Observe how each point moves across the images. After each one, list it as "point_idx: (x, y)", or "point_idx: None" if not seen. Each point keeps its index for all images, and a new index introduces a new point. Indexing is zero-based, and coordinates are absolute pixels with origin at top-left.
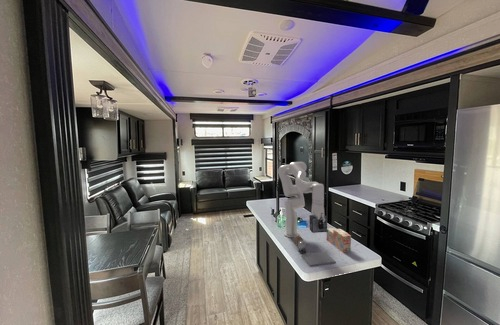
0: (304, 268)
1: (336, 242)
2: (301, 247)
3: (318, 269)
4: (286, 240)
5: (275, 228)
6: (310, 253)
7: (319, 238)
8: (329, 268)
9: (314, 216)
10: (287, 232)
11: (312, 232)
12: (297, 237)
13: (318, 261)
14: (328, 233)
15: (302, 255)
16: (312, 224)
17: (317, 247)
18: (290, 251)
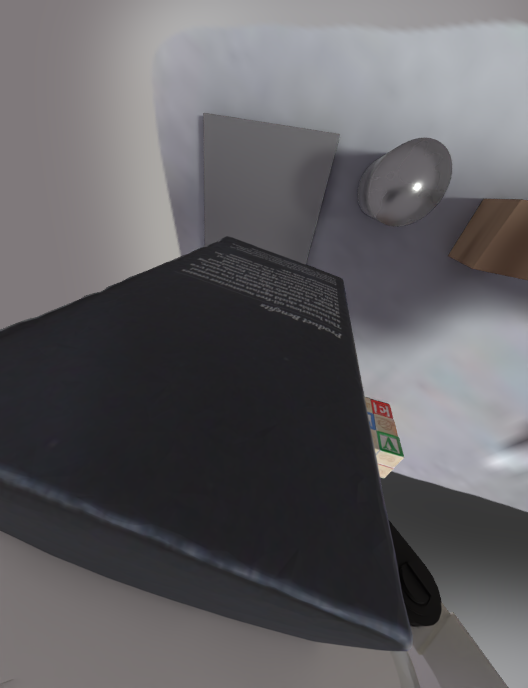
0: (194, 47)
1: None
2: (378, 160)
3: (173, 158)
4: None
5: None
6: (316, 221)
7: (427, 392)
8: (175, 228)
9: (77, 563)
10: None
11: (225, 237)
12: None
13: (223, 207)
14: (379, 432)
15: (324, 135)
16: (145, 273)
17: (360, 317)
18: (467, 58)
